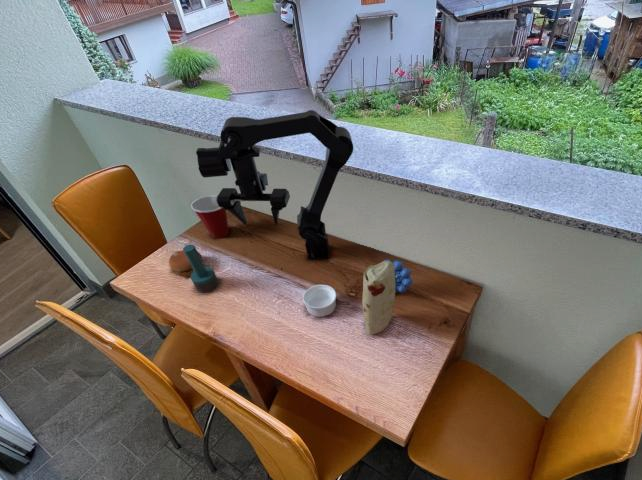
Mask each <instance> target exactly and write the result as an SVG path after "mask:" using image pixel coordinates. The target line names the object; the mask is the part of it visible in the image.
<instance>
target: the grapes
mask: <svg viewBox="0 0 642 480" xmlns="http://www.w3.org/2000/svg"><path fill="white" fill-rule="evenodd" d="M384 261H391V262H392V263H393V264H394V268H395V294H396V293H398V292H399V293H406V292H407V291H408V287H411V286H412V285H413V283H414V281H413V278H412V277H411V274H412V271H411V269H410V268H409V267H404V266H403V265H404V264H403V262H402V261H400V260H394V261H392V260H391V259H388V258H387V259H383V261H382V262H384Z"/></svg>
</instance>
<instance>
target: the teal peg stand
mask: <svg viewBox="0 0 642 480" xmlns="http://www.w3.org/2000/svg"><path fill="white" fill-rule="evenodd" d="M182 250H183V251H184V253H185V255H186V257H187V258H188V260H189V262H190V264H191V266H192V268H193V270H194V271H193V272H192V274H191V276H190V280H191V282H192V284H193V286H194V287H195V289H196V291H197V292H198V293H201V294H208V293H212V292H214V291H215V290H216V289H217V288H218V287H219V284H220V281H219V279H218V276H217V275H216V272H215V270H214V269H213V268H212V267H210V266H205V264H204V261H203V259H202V260H201V258H200V256H199V254H198V252H199V251H198V250H197V248H196V246H195V245H194V244H187V245H185V246H184V247H183V248H182ZM197 251H198V252H197ZM202 261H203V262H202Z"/></svg>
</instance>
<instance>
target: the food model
mask: <svg viewBox="0 0 642 480" xmlns="http://www.w3.org/2000/svg"><path fill="white" fill-rule="evenodd" d="M383 261H384V260H383ZM383 261H382V262H380V263H377V264H375V265H373V264H370V265H368V267H366V269H365V271H364V273H363V280H362V298H361V299H362V303H361V304H362V310H363V320H364V327H365V332H366V333H367V334H368V335H369V336H371V335H376V334H379V333H380V332H382V331H384V330H385V329H386V328H387V327H389V325H390V324H391V319H392V316H393V311H394V307H395V302H396V293H395V268H394V264H393V261H392V260H391V261H392V262H391V261H384V262H383Z"/></svg>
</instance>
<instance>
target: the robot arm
mask: <svg viewBox="0 0 642 480" xmlns="http://www.w3.org/2000/svg"><path fill="white" fill-rule="evenodd" d="M306 134H310V135H312V136H313V137H315V139H317V140H318V141H319V142H320V143H321V145H323V146H324V147H325V148H326V150H325V159H324V162H323V164H322V165H323V166H322V169H321V171H320V172H319V176H318V178H317V182H316V184H315V187H314V190H313V192H312V195H311V198H310V200H309V203H308V205H306V206H303V205H301V206H300V210H299V213H298V214H297V216H296V228H297V230H298V235H299V236H300V238H301V239H302V240H305V243H304V245H305V249H306V254H307V259H308V260H328V259H329V257H330V251H331V245H330V244H329V235H328V234H327V232H326V231H327V230H326V223H325V222H324V221H322V214H323V211H324V208H325V207H326V204H327V202H328V198H329V196H330V193H331V192H332V189H333V186H334V184H335V182H336V179H337V177H338V174H339V172H340V170H341V169H343V167H344V166H345V165H346V164H347V163H348V161H349V159H350V158H351V156H352V154H353V152H354V143H353V140H352V135H351V133H350V131H349V130H348V129H347V128H346V127H344V126H339V125H337V124H336V123H335V122H333V121H332V120H330V119H328V118H326V117H324V116H322V115H321V114H319V113H318V112H317V111H315V110H313V109H309V110H307V111H303V112H298V113H291V114H285V115H279V116H273V117H267V118H260V119H259V118H252V117H247V116H231V117H228V118H227V119H225V121H224V123H223V125H222V128H221V131H220V143H219V145H218V147H197V148H196V151H195V153H196V156H197V157H196V158H197V159H196V160H197V165H198V171H199V174H200V175H201V177H202V178H216V177H227V176H228V175H229V172H231V171H232V170H233V173H234V177H235V179H236V180H235V181H234V184H235V186H236V187H238V189H239V192H240V193H239V192H238V189H236V188H235V187H222V189H220V192H219V193H218V194H217V195H216V196H217V198H216V201H217V204H218V206H219V207H224V209H225V210H226V211H228V212H229V213H230V214H232V215H233V216H235V217H236V219H238V220H239V222H241V223H242V224H243V225H244V226H245V225H247V223H248V221H247V217H246V215H245V213H244V210H243V206H242V203H241V202H269V203H270V206H271V208H270V211H271V215H272V218H273V219H272V220H273V223H274V224H275V226H278V223H279V217H280V211H282V210H283V209H285V208H287V206H288V203H289V200H290V198H291V196H290V195H291V194H290V191H289V190H288V189H287V188H273V189H272V191H271V193H264V192H265V191H266V190H267V186H269V182H268V181H269V180H268V173H265V172H264V173H263V172H262V173H261V172H260V171H258V167H257V165H256V161H255V158H259V157H260V155H261V148H260V147H258V146H256V145H257V144H258V143H260V142H264V141H269V140H274V139H281V138H287V137H293V136H298V135H299V136H300V135H306Z"/></svg>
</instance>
